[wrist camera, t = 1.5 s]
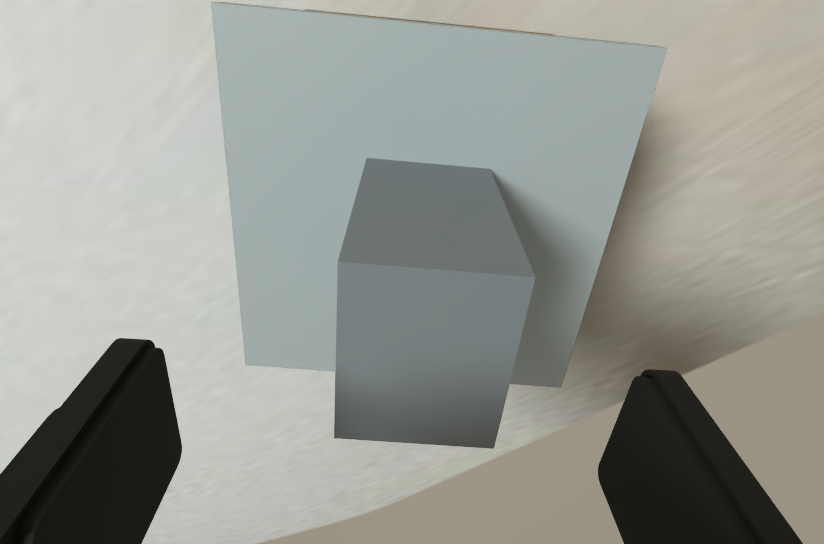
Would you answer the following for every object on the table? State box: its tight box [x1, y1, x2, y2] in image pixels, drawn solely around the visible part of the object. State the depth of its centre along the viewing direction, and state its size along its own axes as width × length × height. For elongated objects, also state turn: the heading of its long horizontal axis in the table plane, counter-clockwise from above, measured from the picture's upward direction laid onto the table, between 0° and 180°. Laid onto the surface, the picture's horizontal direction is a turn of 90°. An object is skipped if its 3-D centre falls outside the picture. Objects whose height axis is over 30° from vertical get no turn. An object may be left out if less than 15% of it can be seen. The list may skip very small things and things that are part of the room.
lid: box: [211, 2, 667, 448], centre depth 15 cm, size 13×13×9 cm
